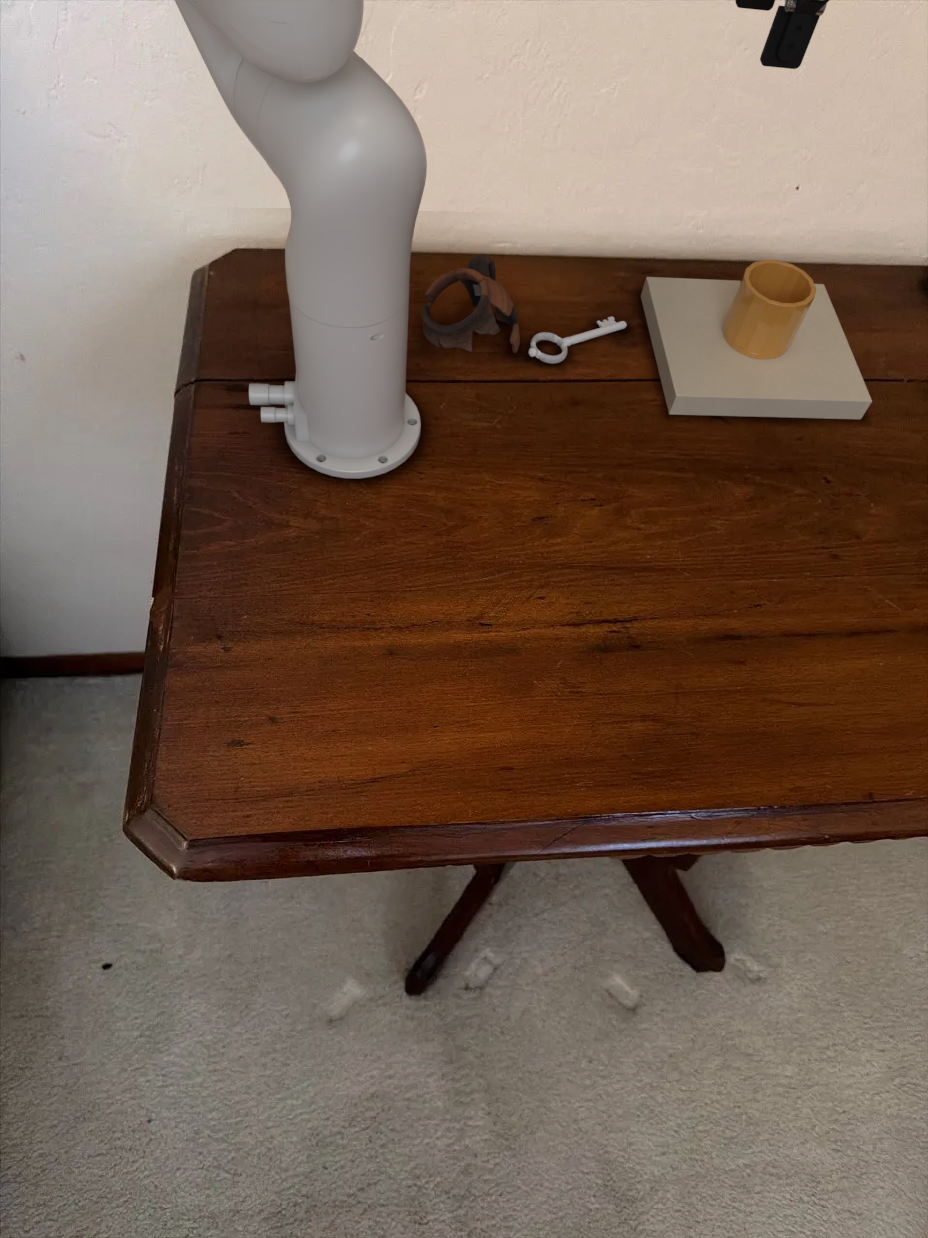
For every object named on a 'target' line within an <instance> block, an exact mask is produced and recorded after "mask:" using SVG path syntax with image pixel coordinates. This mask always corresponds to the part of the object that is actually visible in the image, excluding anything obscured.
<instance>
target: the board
mask: <svg viewBox="0 0 928 1238" xmlns="http://www.w3.org/2000/svg"><path fill="white" fill-rule="evenodd" d="M740 282H741V280H737V279H736V280H734V279H733V280H732V279H712V278H711V279H710V278H709V279H708V278H687V277H686V278H685V277H660V276H646V277H645V280H644V283H643V286H642V290H641V294H640V300H641V303H642V304H641V305H642V308H643V312H644V316H645V321H646V325H647V328H648V332H649V337H650V341H651V345H652V350H653V353H654V357H655V362H656V365H657V370H658V374H659V378H660V383H661V387H662V391H663V394H664V399H665V403H666V408H667V412H668V415H670V416H671V415H673V416H675V415H677V416H711V417H713V416H714V417H748V418H750V417H751V418H753V417H755V418H790V419H791V418H792V419H795V418H796V419H830V420H831V419H833V420H862V418H863V417H864V415H865V413H866V412H867V411H868V409H869V408H870V406H871V404H872V403H873V400H872V397H871V395H870V393H869V390H868V387H867V385H866V383H865V380H864V378H863V376H862V373H861V371H860V368H859V365H858V363H857V361H856V359H855V355H854V354H853V351H852V349H851V346H850V344H849V341H848V339H847V336H846V334H845V331H844V330H843V328H842V327H843V326H842V325H841V322H840V319H839V317H838V315H837V313H836V310H835V307H834V305H833V303H832V301H831V298H830V295H829V293H828V291H827V289H826V286H825V284H824V283H814V284H815V287H816V293H815V297H814V299H813V301H812V303H811V305H810V307H809V309H808V311H807V313H806V315H805V317H804V319H803V321H802V323H801V325H800V327H799V329H798V331H797V333H796V335H795V337H794V339H793V341H792V343H791V345H790V346H789V348H788V350H787V351H786V352H785V353H784V354H783V355H781V356H779V357H777V358H773V359H756V358H752V357H749V356H746V355H743V354H741V353H740V352H738V351H736V350H735V349H734V348H732V347H731V346H730V345H729V344H728V343H727V341H726V340H725V338H724V335H723V325H724V323H725V320H726V317H727V314H728V312H729V309H730V307H731V304H732V302H733V299H734V297H735V295H736V292H737V290H738V287H739V285H740Z"/></svg>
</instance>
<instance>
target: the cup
mask: <svg viewBox="0 0 928 1238" xmlns="http://www.w3.org/2000/svg"><path fill="white" fill-rule="evenodd" d="M740 281H741V282H740V285H739V287H738V290H737V292H736V295H735V297H734V299H733V302H732V304H731V307H730V309H729V312H728V314H727V317H726V320H725V323H724V325H723V335H724V338H725V340H726V341H727V343H728V344H729V345H730V346H731V347H732V348H734V349H735V350H736V351H738V352H740V353H741V354H743V355H746V356H749V357H752V358H756V359H773V358H777V357H779V356H781V355H783V354H784V353H785V352H786V351H787V350H788V348H789V346H790V345H791V343H792V341H793V339H794V337H795V335H796V333H797V331H798V329H799V327H800V325H801V323H802V321H803V319H804V317H805V315H806V313H807V311H808V309H809V307H810V305H811V303H812V301H813V299H814V297H815V293H816V287H815V284H816V283H815V282H814V280H813V278H812V277H810V275H809V274H808V273H807V272H806V271H805V270H804V269H801V268H800V267H797V266H796V265H795V264H792V263H790V262H785V261H781V260H778V259H762V260H758V261H755V262H752V263H751V264H749V266H747V268H745V271H744V273H743V275H742V278H741V280H740Z"/></svg>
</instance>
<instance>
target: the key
mask: <svg viewBox="0 0 928 1238" xmlns="http://www.w3.org/2000/svg"><path fill="white" fill-rule="evenodd" d="M596 324H597V325H598V328H595V329H590V330H587V331H584V332H581V333H577V334H573V335H571V336H566V337H563V338H562V337H561V336H558V335H557V334H555V333H553V332H548V331H543V332H542V331H541V332H538V333H536V334H535V335H533V337H531V340H530V342H529V343H530V345H529V349H528V352H527V353H528V355H529V357H530V358H534V357H535V358H537V359H539V360H540V361H541V362H543V363H546V364H552V365H553V364H559V363H562V362H563V361H564V360H565V359H566V358H567V356H568V347H570V346H571V345H576V344H578V343H582V342H585V341H588V340H592V339H595V338H598V337H601V336H605V335H608V334H611V333H614V332H617V331H621V330H624V329H626V327H627V326H628V325H627V324H628V323H627V322H626V321H625V320H621V321H615V317H614V316H608V317H607V318H606V319H602V321H601V320H597V321H596ZM541 341H549V342H551V343H555V344H556V345H557V346H558V347H560V350H561V353H559V354H555V355H552V354H551V355H550V354H547V353H544V352H542V351H541V350H539V348H538V347H537V343H538V342H541Z"/></svg>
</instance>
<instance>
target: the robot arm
mask: <svg viewBox="0 0 928 1238" xmlns="http://www.w3.org/2000/svg"><path fill="white" fill-rule="evenodd" d="M734 1H735V5H736V7H737V8H738V9H746V10H747V9H748V10H757V11H767V12H768V11H770V10H772V9H773V7H774V5H775V2H776V0H734ZM174 2H175V4H176V7H177V8H178V11H179V12H180V14H181V17H182V19H183V21H184V23H185V25H186V28H187V29H188V32H189V33H190V36H191V37H192V40H193V41H194V44H195V46H196V48H197V50H198V52H199V54H200V56H201V59H202V60H203V62H204V64H205V66H206V68H207V71H208V73H209V74H210V77H211V78H212V81H213V83H214V86H216V88H217V89H216V90H217V91H218V93H219V95H220V97H221V99H222V101H223V102H224V104H225V106H226V108H227V110H228V111H229V113H230V115H231V117H232V118H233V120H234V121H235V123H236V125H237V126H238V127H239V129H240V130H241V132H242V133H243V134H244V136H245V137H246V138H247V139H248V141H249V143H250V144H251V145H252V146H253V147H254V149H255V150H256V151H257V152H258V154H259V155H260V156H261V157H262V159H263V160H264V161H265V163H266V164H267V166H268V167H269V169H270V170H271V172H272V173H273V174H274V176H275V177H276V178H277V179H278V180H279V182H280V184H281V185H282V187H283V189H284V190H285V194H286V196H287V199H288V203H289V206H290V207H289V208H290V214H291V215H290V225H289V229H288V233H287V237H286V239H285V248H284V267H285V269H284V270H285V277H286V278H285V279H286V290H287V295H288V302H289V303H288V304H289V312H290V314H289V315H290V323H291V332H292V333H291V334H292V343H293V344H292V345H293V353H294V354H293V355H294V363H295V379H294V380H293V381H291V380H290V381H289V380H286V381H284V385H280V384H279V385H277V384H270V383H255V382H253V383H252V382H249V384H248V401H249V402H248V403H249V405H250V406H261V407H260V421H261V423H283V426H284V427H283V428H284V435H285V438H286V439H285V440H286V443H287V444H288V446H289V448H290V450H291V452H292V453H293V454H294V455H295V456H296V457H297V458H298V460H300V461H301V462H302V463H303V464H304V465H306V466H307V467H309V468H311V469H313V470H315V471H316V472H319V473H321V474H325V475H327V476H330V477H333V478H334V477H336V478H341V479H365V478H374V477H377V476H381V475H383V474H384V475H385V474H387V473H388V472H390V471H392V470H395V469H397V468H398V467H400V466H401V465H402V464H403V463H405V462H406V461H407V460H408V459H409V458H410V457H411V456H412V455H413V453H414V452H415V450H416V448H417V447H418V444H419V440H420V437H421V430H422V429H421V428H422V425H421V423H422V422H421V416H420V412H419V409H418V407H417V405H416V403H415V402H414V400H413V398H412V397H411V396H409V394H407V392H406V390H407V389H406V388H407V387H406V386H407V362H408V361H407V360H408V359H407V358H408V336H409V335H408V333H409V309H410V308H409V307H410V306H409V305H410V274H411V257H412V249H413V248H412V247H413V239H414V231H415V227H416V222H417V219H418V218H417V217H418V214H419V211H420V207H421V204H422V203H421V202H422V199H423V196H424V195H423V194H424V191H425V186H426V180H427V171H428V170H427V169H428V162H427V161H428V160H427V153H426V152H427V151H426V146H425V143H424V139H423V136H422V134H421V131H420V128H419V126H418V124H417V122H416V120H415V119H414V116H413V115H412V113H411V111H410V110H409V108H408V107H407V105H406V104H405V103H404V102H403V100H402V99H401V98H400V96H399V95H398V94H397V93H396V91H395V90H394V89H393V88H392V87H391V86H390V85H389V84H388V83H387V82H386V81H385V80H384V79H383V77H381V76H380V75H379V74H378V72H376V71H375V69H374V68H373V67H372V66H371V65H370V64H369V63H368V62H366V60H365V59H364V58H363V57H362V56H359V54H358V53H357V52H355V48H356V46H357V44H358V41H359V38H360V35H361V32H362V27H363V20H364V19H363V18H364V9H365V7H364V6H365V5H364V4H365V3H364V2H365V0H174ZM829 2H830V0H784V5H778V7H777V9H776V12H775V14H774V17H773V21H772V23H771V26H770V29H769V32H768V34H767V38H766V40H765V43H764V45H763V49H762V51H761V54H760V57H759V61H760V63H761V65H762V66H763V67H770V68H780V69H791V70H797V69H798V68H799V67H800V66H801V65H802V63H803V60H804V57H805V55H806V53H807V49H808V47H809V45H810V42H811V39H812V38H813V35H814V31H815V29H816V27H817V25H818V22H819V19H820V17H821V16H822V15H824V12H825V10H826V8H827V4H828V3H829ZM271 405H283V406H284V407H275V406H271Z"/></svg>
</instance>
